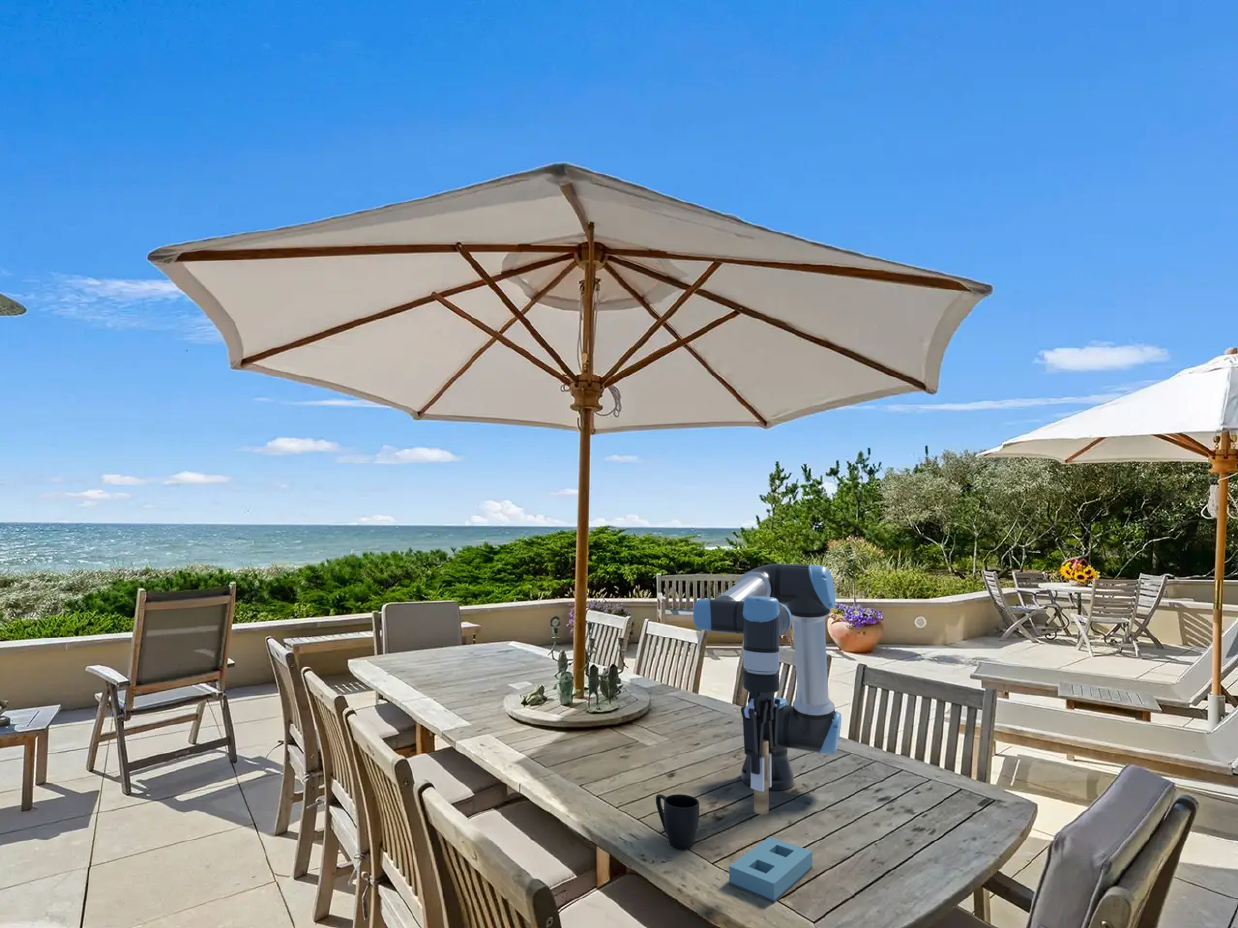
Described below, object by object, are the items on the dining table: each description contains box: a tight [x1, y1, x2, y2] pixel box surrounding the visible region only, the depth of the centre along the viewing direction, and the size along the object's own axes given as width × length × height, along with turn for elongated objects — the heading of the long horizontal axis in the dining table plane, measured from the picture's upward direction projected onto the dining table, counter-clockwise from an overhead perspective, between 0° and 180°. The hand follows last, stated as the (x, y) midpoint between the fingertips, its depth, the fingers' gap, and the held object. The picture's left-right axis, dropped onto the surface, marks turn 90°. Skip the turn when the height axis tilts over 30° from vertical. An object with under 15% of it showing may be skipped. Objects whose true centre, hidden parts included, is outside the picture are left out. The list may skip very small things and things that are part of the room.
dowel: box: [753, 739, 770, 816], centre depth 133 cm, size 3×3×14 cm
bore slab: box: [728, 836, 813, 904], centre depth 134 cm, size 18×10×4 cm, turn 140°
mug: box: [655, 793, 700, 851], centre depth 149 cm, size 8×12×10 cm
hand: (761, 786), depth 133 cm, fingers closed on dowel, 2 cm apart
